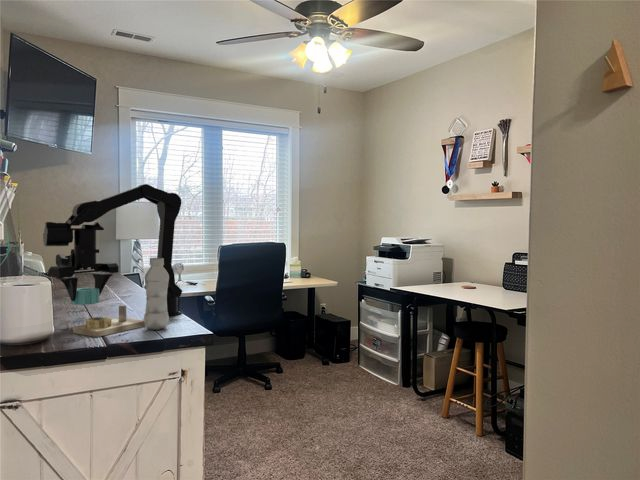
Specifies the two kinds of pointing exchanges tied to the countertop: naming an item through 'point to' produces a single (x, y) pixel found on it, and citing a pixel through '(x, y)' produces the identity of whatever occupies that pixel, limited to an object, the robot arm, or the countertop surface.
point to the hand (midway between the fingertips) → (85, 299)
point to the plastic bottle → (156, 295)
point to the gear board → (110, 329)
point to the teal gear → (86, 296)
